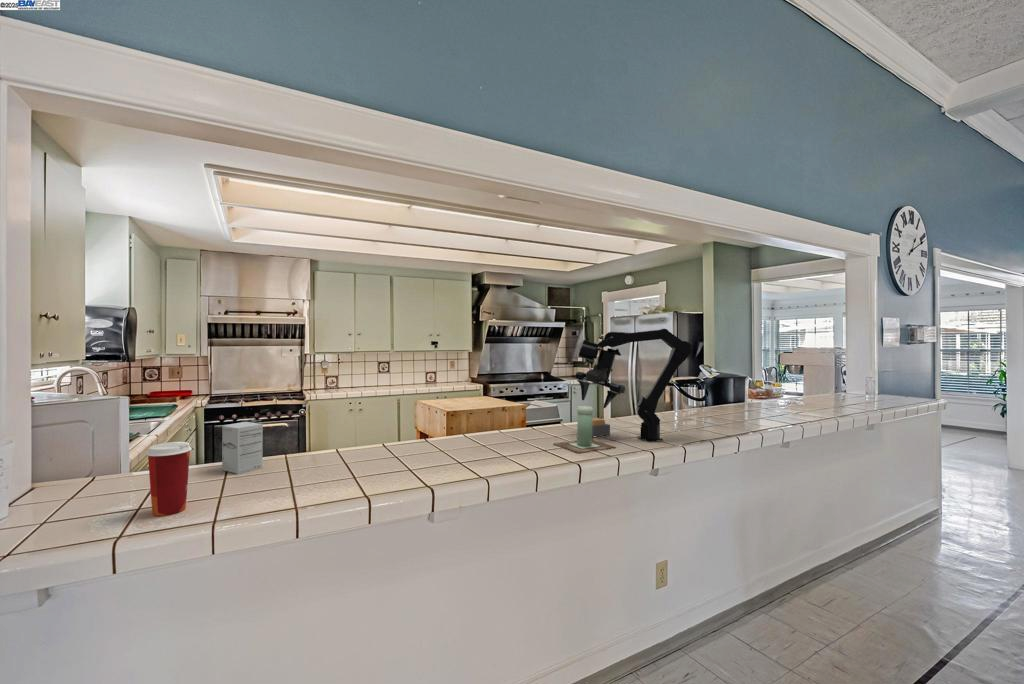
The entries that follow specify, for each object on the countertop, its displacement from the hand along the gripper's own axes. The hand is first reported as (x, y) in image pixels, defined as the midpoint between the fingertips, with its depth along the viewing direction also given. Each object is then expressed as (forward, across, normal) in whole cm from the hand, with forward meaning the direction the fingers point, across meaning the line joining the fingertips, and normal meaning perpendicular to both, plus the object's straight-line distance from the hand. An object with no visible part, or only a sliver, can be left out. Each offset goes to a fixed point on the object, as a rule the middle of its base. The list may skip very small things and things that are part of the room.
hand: (593, 404), depth 168 cm
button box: (+12, +1, +7) cm, 14 cm away
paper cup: (+35, -32, -118) cm, 127 cm away
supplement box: (+37, -52, -96) cm, 115 cm away
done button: (+9, 0, +7) cm, 11 cm away
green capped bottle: (+12, +7, -14) cm, 20 cm away
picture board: (+13, +7, -14) cm, 20 cm away
